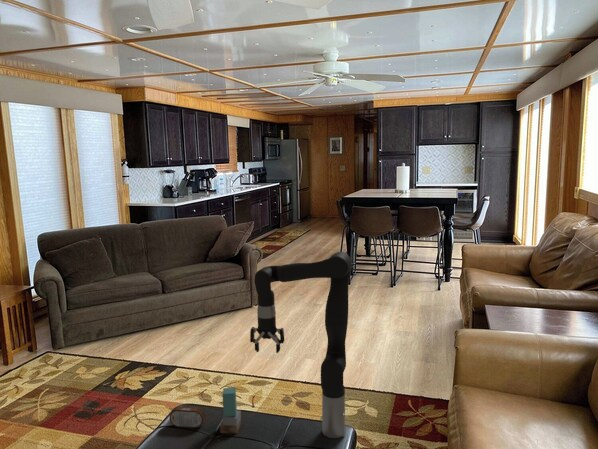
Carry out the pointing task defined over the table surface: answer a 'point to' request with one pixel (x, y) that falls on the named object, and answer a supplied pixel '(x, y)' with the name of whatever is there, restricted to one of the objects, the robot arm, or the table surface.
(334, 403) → the robot arm
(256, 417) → the table surface
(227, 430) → the tower base
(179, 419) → the tin
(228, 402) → the block
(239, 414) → the tower top
